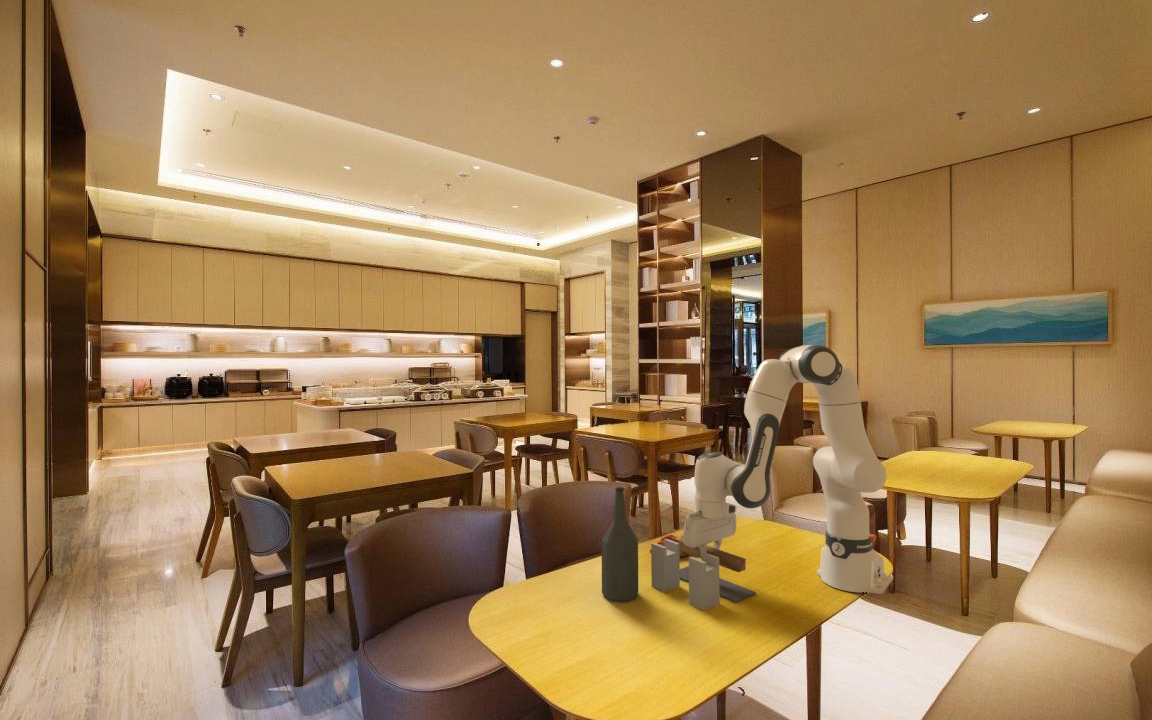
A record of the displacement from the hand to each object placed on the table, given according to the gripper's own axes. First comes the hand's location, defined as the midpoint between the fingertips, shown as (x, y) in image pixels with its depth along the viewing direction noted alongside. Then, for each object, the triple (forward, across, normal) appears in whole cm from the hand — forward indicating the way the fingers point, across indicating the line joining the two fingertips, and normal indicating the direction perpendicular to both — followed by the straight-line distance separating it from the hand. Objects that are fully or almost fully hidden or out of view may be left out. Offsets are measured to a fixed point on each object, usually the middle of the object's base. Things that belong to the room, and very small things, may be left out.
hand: (710, 556), depth 152 cm
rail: (+1, 0, 0) cm, 1 cm away
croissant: (+9, +11, +23) cm, 27 cm away
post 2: (+8, -11, -7) cm, 16 cm away
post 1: (+8, -11, +7) cm, 16 cm away
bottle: (+8, -25, +11) cm, 29 cm away
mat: (+8, 0, 0) cm, 8 cm away
